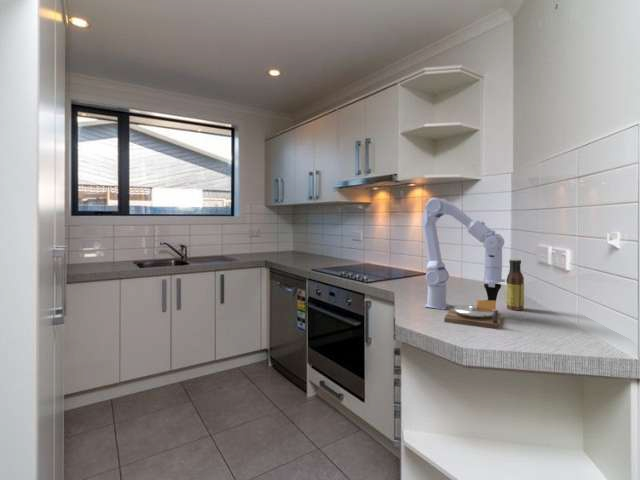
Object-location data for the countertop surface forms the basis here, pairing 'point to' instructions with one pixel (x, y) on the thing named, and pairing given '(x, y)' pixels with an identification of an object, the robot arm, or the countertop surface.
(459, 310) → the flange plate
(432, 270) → the robot arm
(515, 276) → the sauce bottle
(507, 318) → the countertop surface
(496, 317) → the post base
